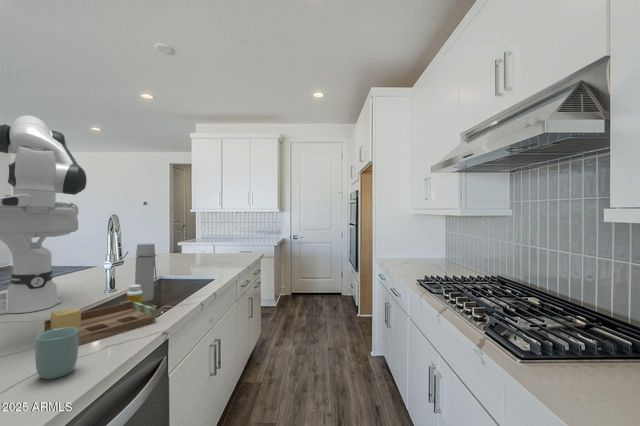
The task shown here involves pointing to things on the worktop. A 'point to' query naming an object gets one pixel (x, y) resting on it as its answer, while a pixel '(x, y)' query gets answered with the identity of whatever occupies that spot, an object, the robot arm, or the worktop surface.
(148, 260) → the water bottle
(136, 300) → the supplement bottle
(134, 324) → the box
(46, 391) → the worktop surface
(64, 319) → the block
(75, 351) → the cup
